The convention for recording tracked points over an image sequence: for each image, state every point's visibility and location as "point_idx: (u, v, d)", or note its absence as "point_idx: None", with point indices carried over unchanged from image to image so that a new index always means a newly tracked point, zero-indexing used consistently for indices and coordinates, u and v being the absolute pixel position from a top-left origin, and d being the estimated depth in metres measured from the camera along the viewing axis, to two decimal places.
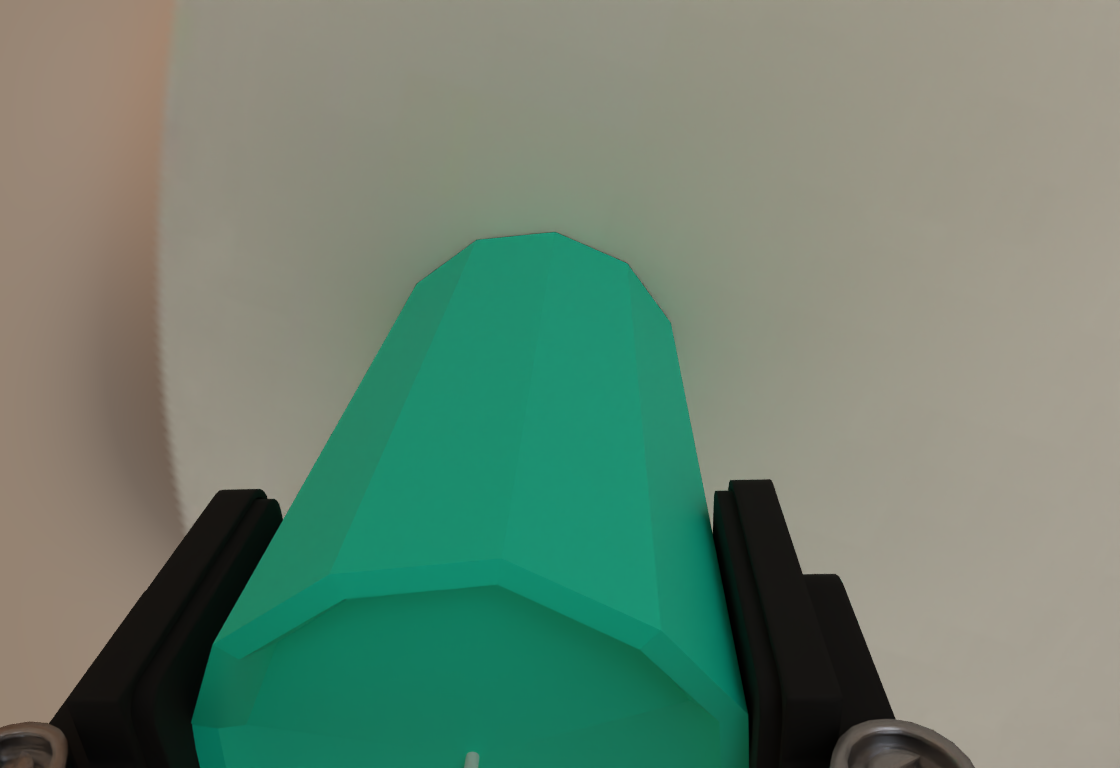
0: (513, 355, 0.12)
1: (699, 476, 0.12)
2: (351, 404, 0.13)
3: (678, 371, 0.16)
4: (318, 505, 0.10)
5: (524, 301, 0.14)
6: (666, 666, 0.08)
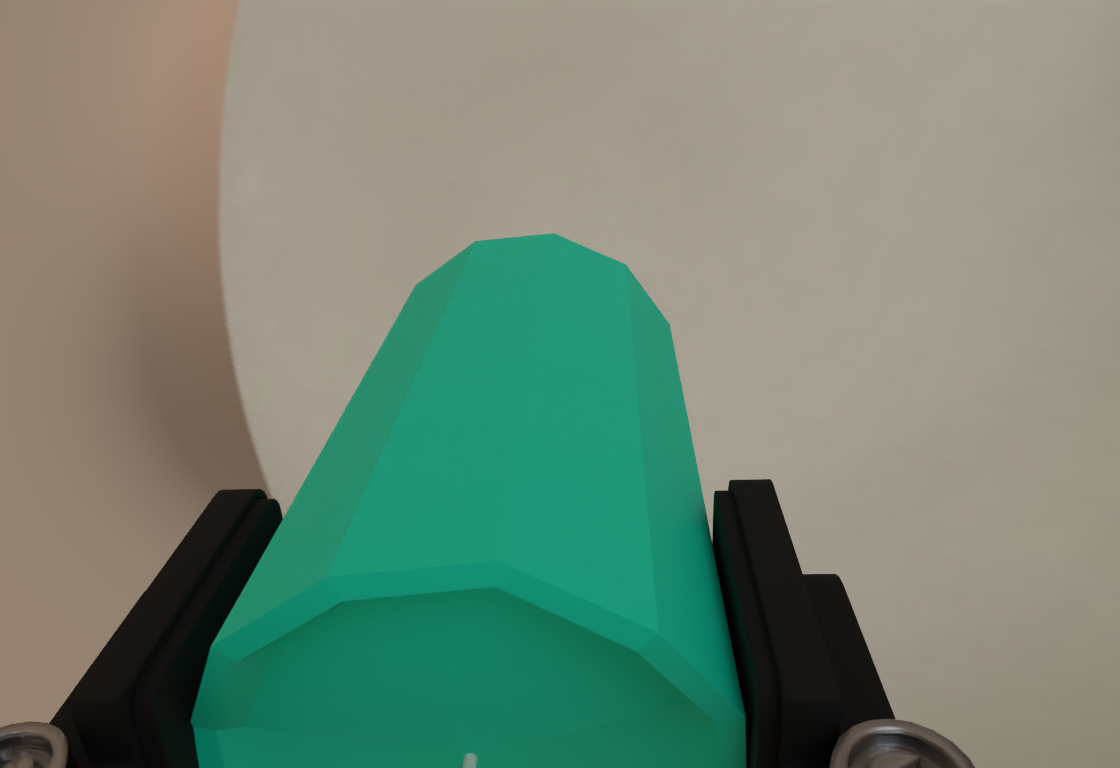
0: (512, 358, 0.12)
1: (697, 478, 0.13)
2: (350, 406, 0.13)
3: (677, 372, 0.16)
4: (316, 508, 0.10)
5: (522, 303, 0.14)
6: (662, 669, 0.08)
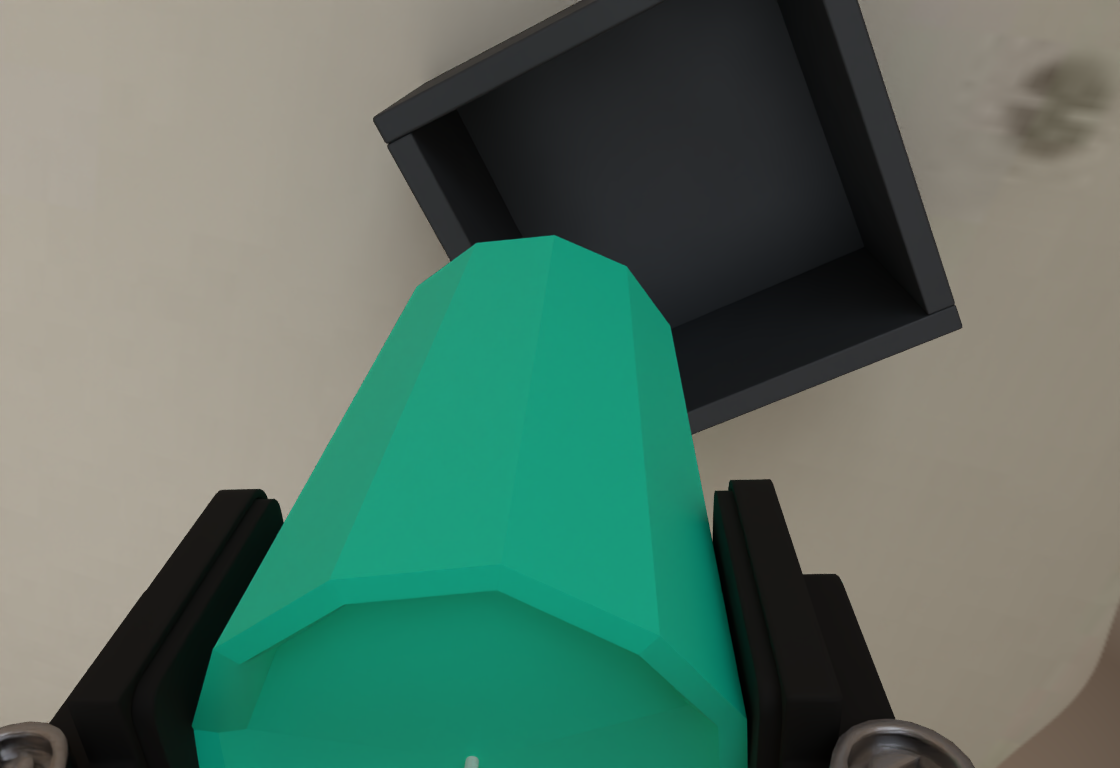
0: (513, 360, 0.12)
1: (698, 480, 0.13)
2: (351, 408, 0.13)
3: (677, 374, 0.16)
4: (318, 511, 0.10)
5: (523, 305, 0.14)
6: (665, 671, 0.08)
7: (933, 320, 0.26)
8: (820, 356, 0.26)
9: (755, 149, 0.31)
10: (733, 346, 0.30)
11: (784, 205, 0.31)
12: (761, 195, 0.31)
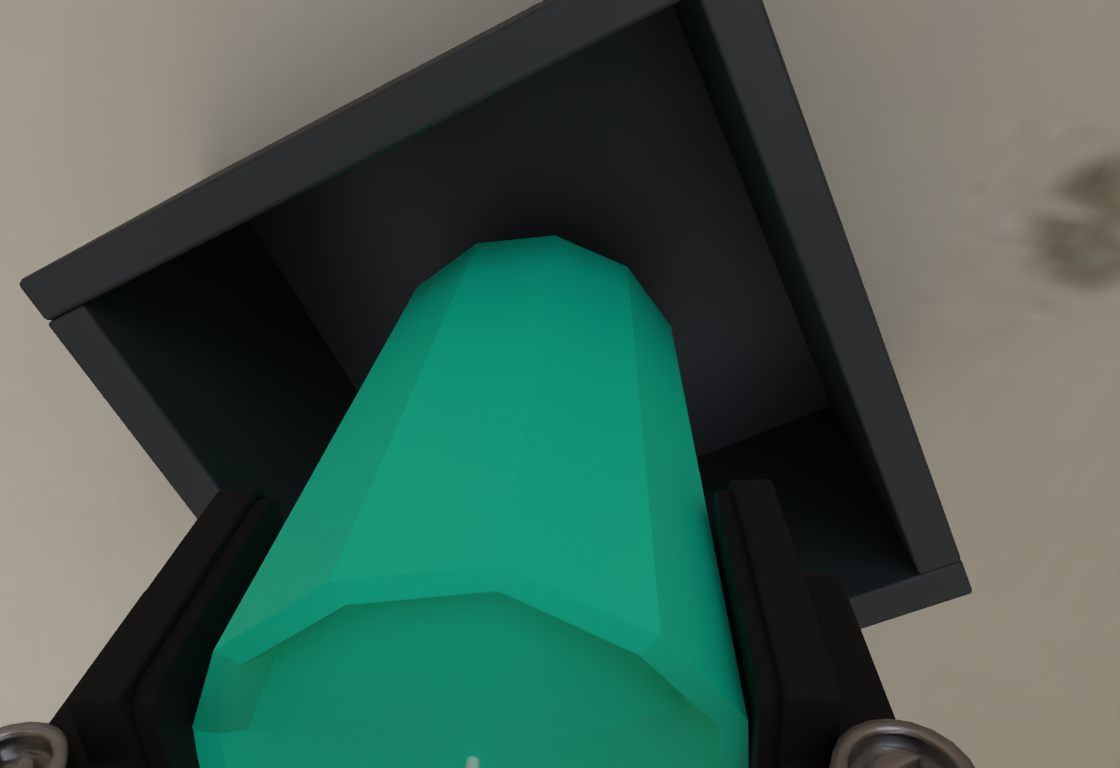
0: (513, 360, 0.12)
1: (699, 480, 0.13)
2: (351, 408, 0.13)
3: (678, 374, 0.16)
4: (319, 512, 0.10)
5: (524, 306, 0.14)
6: (665, 672, 0.08)
7: (927, 582, 0.17)
8: None
9: (675, 276, 0.21)
10: None
11: (719, 350, 0.22)
12: (685, 337, 0.22)
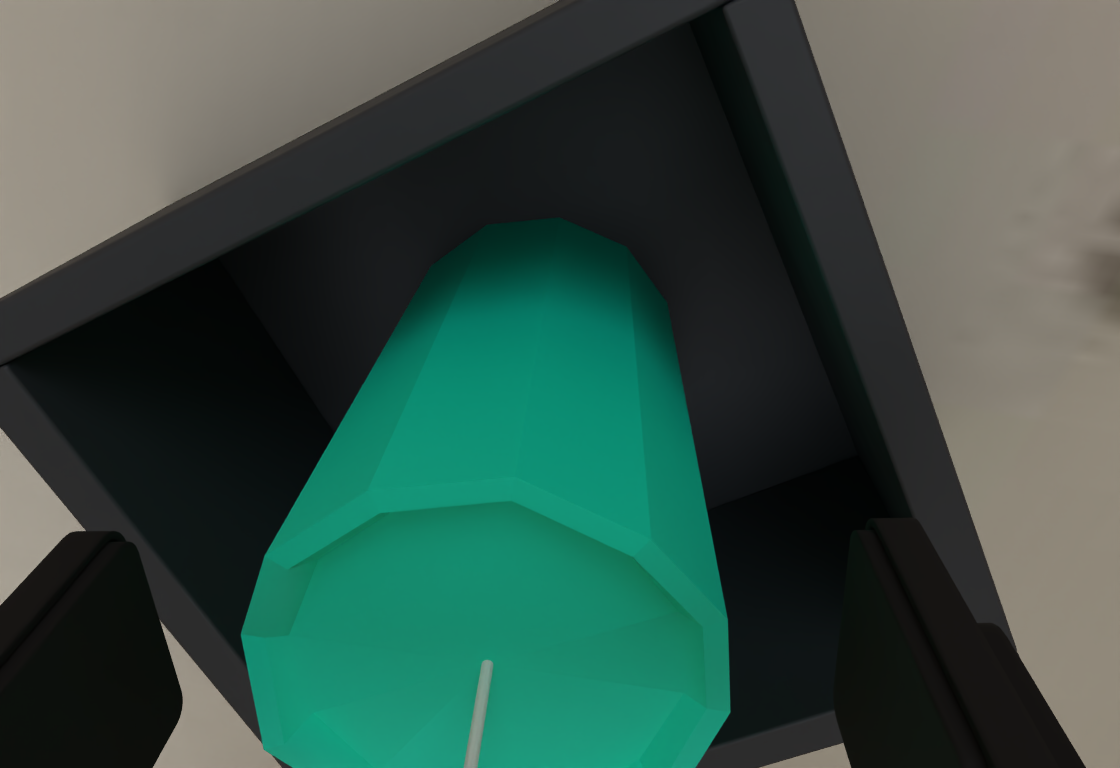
0: (523, 321, 0.13)
1: (690, 432, 0.14)
2: (375, 367, 0.14)
3: (673, 344, 0.17)
4: (351, 445, 0.11)
5: (531, 276, 0.15)
6: (655, 573, 0.09)
7: None
8: (779, 720, 0.15)
9: (687, 314, 0.19)
10: None
11: (734, 394, 0.20)
12: (698, 380, 0.20)
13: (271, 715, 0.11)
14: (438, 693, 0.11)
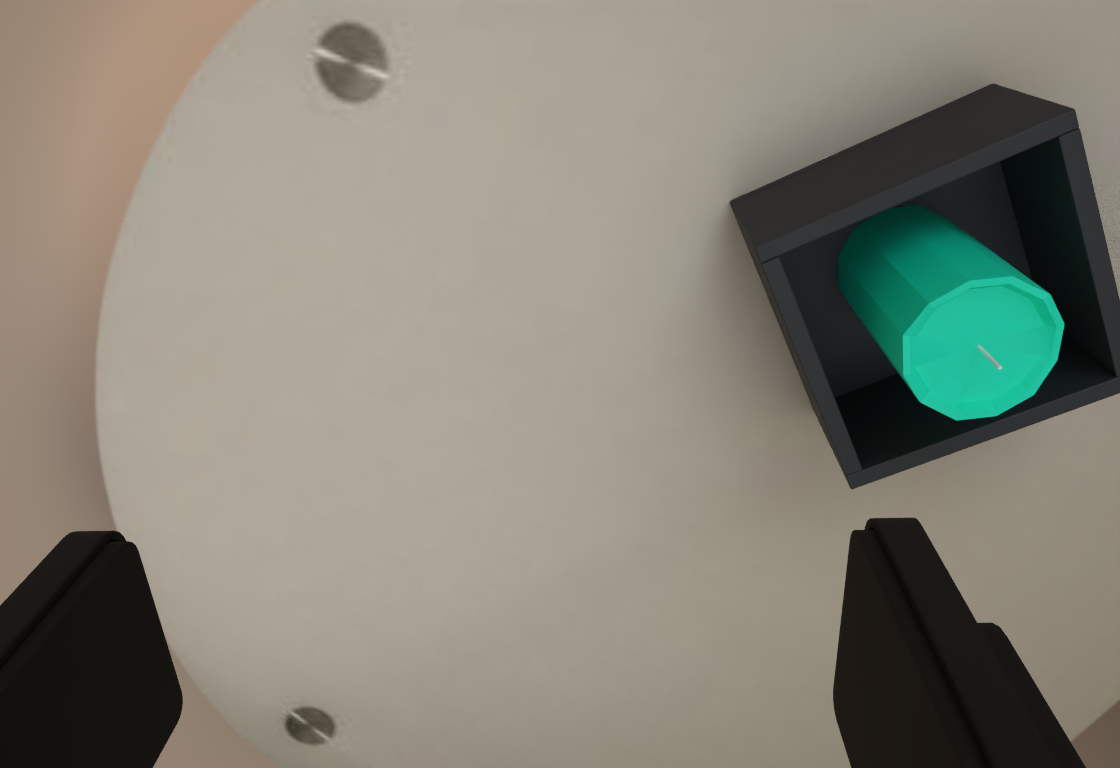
0: (958, 241, 0.36)
1: None
2: (892, 261, 0.37)
3: None
4: (930, 277, 0.34)
5: (940, 227, 0.38)
6: (1048, 306, 0.32)
7: None
8: (1037, 404, 0.38)
9: None
10: None
11: None
12: None
13: (908, 363, 0.34)
14: (959, 358, 0.34)
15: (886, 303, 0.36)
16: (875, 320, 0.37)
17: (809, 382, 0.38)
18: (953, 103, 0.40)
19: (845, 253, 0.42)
